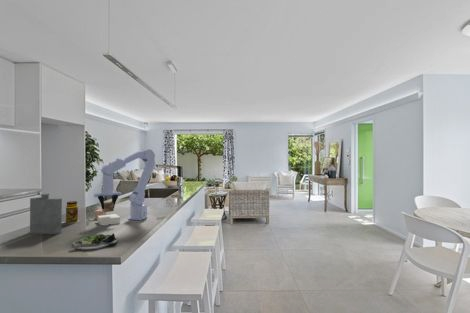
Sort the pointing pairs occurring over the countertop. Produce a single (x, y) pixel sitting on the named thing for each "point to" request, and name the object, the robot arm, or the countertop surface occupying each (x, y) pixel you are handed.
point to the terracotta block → (99, 213)
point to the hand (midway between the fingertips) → (107, 208)
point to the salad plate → (95, 242)
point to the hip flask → (45, 215)
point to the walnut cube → (108, 206)
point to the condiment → (71, 212)
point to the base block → (108, 219)
